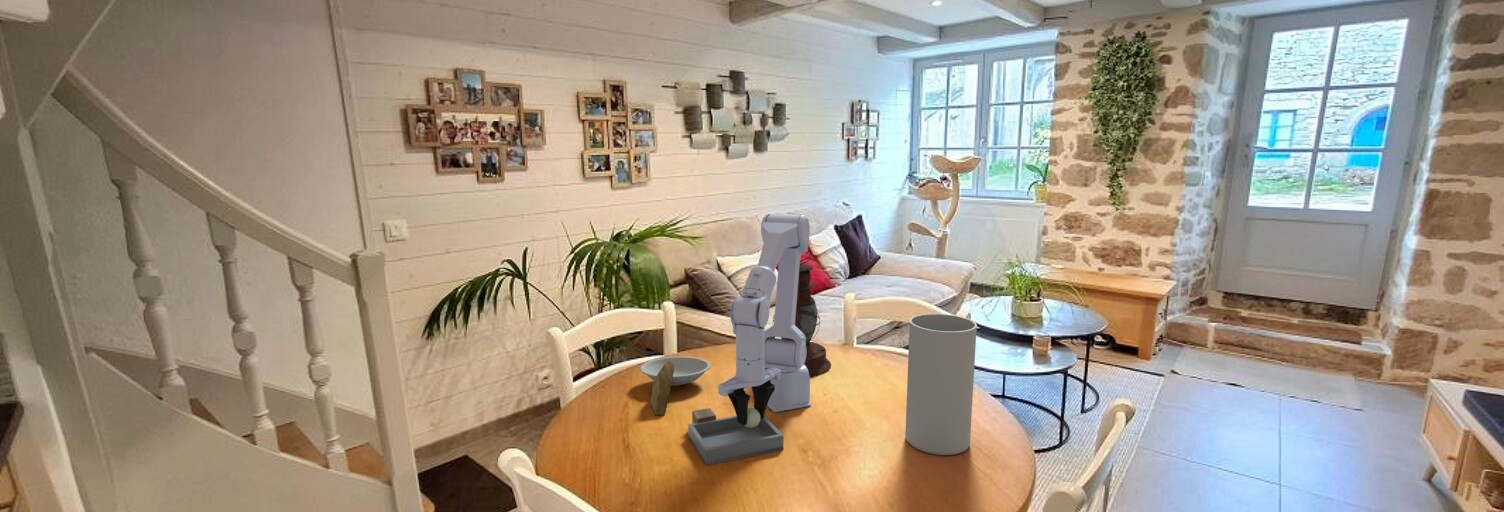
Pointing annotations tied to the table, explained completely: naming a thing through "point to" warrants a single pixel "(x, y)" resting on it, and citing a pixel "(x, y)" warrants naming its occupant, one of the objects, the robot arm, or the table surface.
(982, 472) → the table surface
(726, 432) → the serving tray
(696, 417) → the walnut cube
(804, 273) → the lantern
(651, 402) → the rock
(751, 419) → the green ball
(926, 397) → the cylinder vase
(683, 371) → the dish
